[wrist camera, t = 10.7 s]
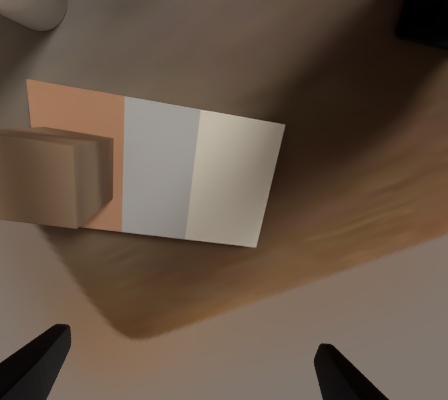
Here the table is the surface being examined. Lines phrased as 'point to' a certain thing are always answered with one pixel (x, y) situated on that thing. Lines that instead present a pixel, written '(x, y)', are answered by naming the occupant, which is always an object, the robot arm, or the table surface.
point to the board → (171, 163)
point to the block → (54, 175)
